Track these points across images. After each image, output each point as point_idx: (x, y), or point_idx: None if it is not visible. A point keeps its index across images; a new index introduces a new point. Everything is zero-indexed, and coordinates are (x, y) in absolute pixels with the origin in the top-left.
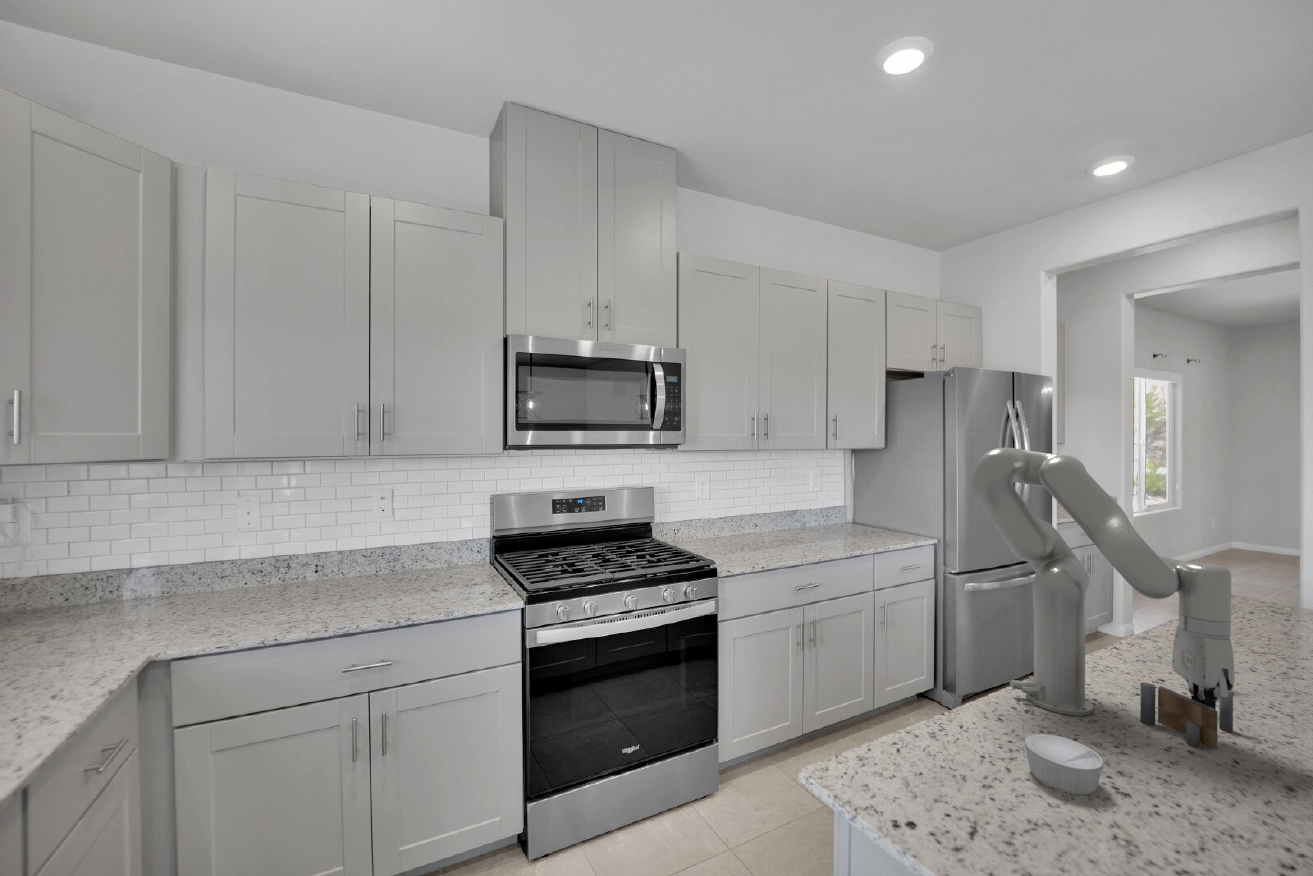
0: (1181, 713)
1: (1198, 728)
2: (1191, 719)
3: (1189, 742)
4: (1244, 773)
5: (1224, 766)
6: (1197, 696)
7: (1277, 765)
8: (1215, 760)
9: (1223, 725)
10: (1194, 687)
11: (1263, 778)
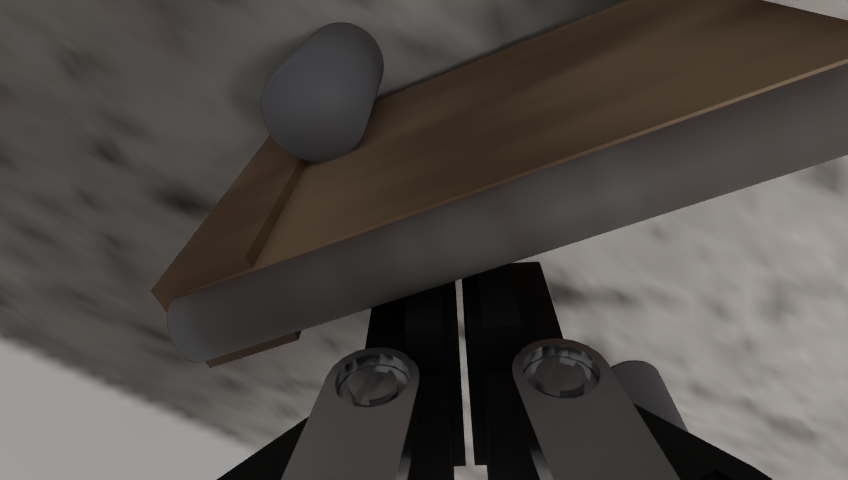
0: (488, 109)
1: (266, 121)
2: (395, 144)
3: (318, 31)
4: (22, 160)
5: (64, 91)
6: (486, 373)
7: (242, 376)
8: (138, 83)
9: (626, 390)
10: (539, 456)
11: (15, 228)
